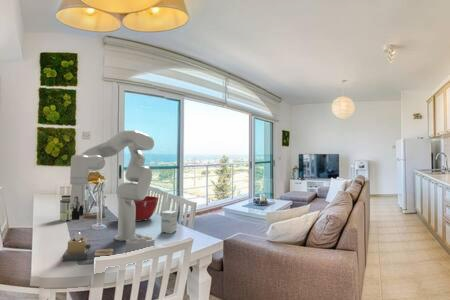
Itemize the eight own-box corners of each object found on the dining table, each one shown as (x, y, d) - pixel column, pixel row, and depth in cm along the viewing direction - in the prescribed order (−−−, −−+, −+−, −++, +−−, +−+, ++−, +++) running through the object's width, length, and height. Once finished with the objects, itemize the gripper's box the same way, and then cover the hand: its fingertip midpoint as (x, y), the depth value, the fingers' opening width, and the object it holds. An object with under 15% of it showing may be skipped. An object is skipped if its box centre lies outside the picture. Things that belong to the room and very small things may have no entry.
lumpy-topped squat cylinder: (156, 254, 143) (156, 236, 143) (128, 259, 136) (129, 240, 136) (149, 248, 152) (149, 231, 152) (123, 253, 145) (123, 235, 145)
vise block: (68, 253, 143) (69, 230, 143) (91, 251, 146) (91, 229, 146) (62, 261, 132) (63, 237, 132) (87, 260, 135) (87, 235, 135)
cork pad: (96, 251, 147) (96, 249, 147) (113, 249, 149) (113, 248, 149) (94, 256, 139) (94, 255, 139) (112, 255, 141) (112, 253, 141)
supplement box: (160, 232, 183) (161, 212, 183) (167, 229, 189) (167, 210, 190) (170, 234, 180) (171, 213, 180) (177, 231, 187) (177, 211, 187)
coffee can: (65, 217, 218) (66, 198, 218) (78, 218, 217) (79, 199, 217) (56, 220, 208) (56, 200, 208) (70, 221, 207) (70, 201, 207)
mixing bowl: (111, 218, 218) (112, 197, 218) (147, 213, 237) (147, 194, 237) (127, 226, 197) (128, 202, 197) (165, 220, 216) (165, 199, 216)
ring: (70, 248, 141) (71, 238, 141) (86, 247, 143) (87, 237, 143) (67, 253, 134) (67, 242, 134) (84, 252, 136) (84, 241, 136)
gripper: (74, 179, 146) (72, 214, 146) (65, 182, 130) (64, 221, 129) (90, 179, 149) (89, 214, 148) (84, 182, 132) (83, 221, 131)
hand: (77, 217), depth 139 cm, fingers open, 9 cm apart
